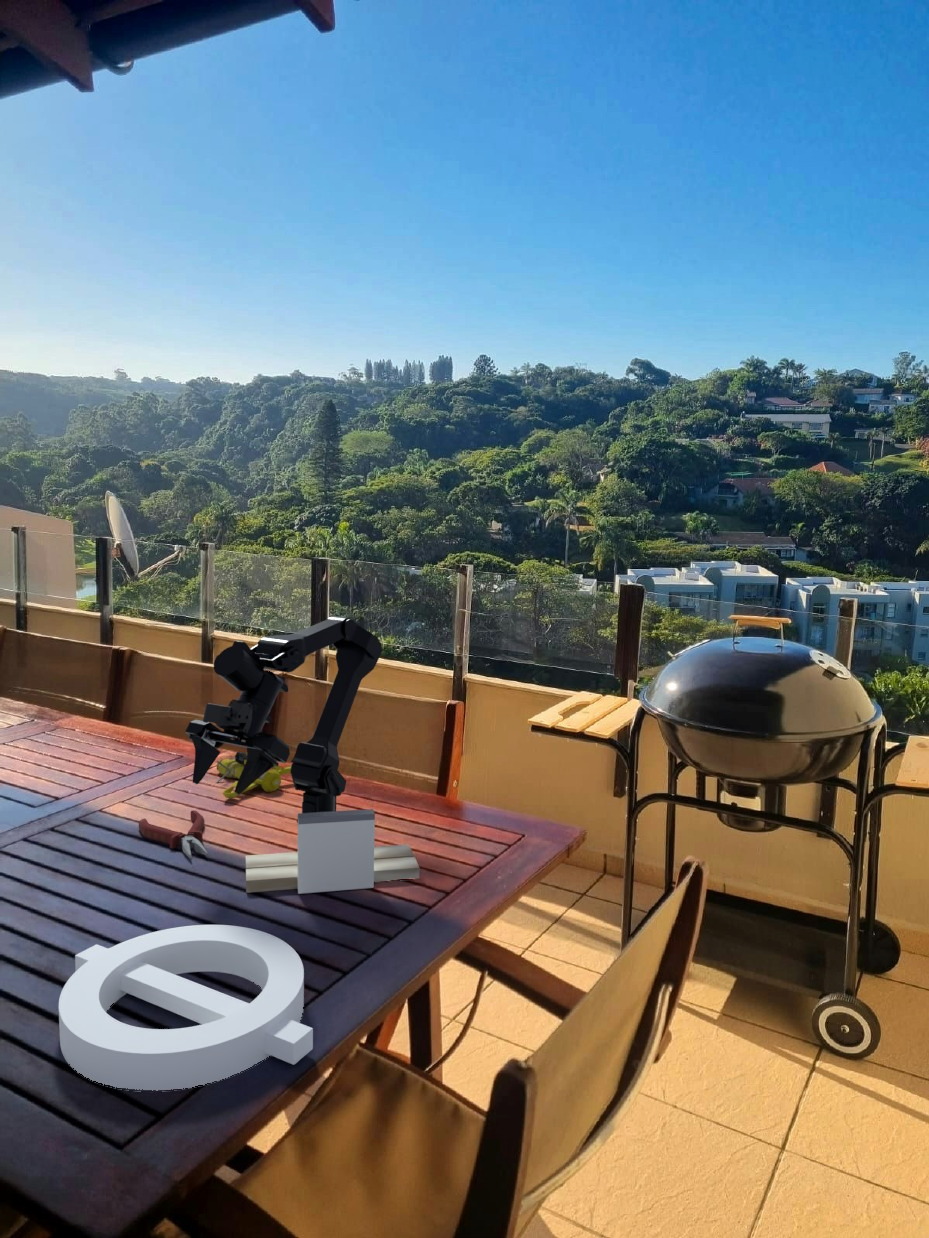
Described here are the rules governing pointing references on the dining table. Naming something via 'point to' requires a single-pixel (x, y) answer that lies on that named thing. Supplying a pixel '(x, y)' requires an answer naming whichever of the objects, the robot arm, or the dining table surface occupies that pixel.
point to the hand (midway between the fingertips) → (215, 788)
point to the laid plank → (283, 868)
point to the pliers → (178, 835)
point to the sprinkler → (235, 768)
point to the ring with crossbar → (183, 1008)
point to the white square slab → (335, 850)
